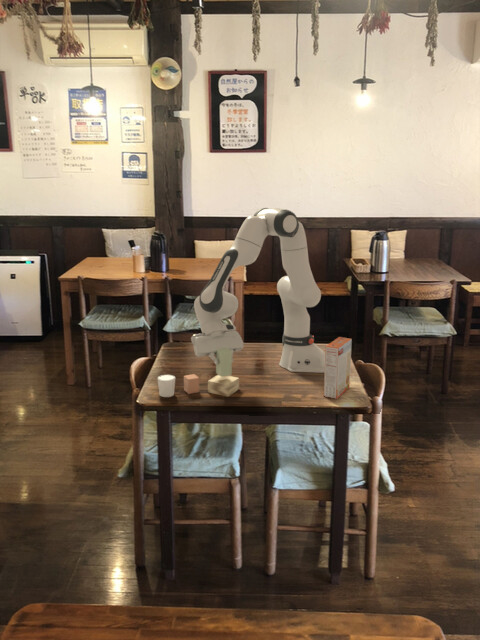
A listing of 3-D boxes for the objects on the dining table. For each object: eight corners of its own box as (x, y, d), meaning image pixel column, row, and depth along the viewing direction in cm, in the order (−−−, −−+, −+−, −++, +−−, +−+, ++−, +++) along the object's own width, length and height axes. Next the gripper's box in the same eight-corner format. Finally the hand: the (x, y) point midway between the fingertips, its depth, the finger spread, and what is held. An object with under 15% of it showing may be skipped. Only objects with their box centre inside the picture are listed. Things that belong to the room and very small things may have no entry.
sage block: (226, 371, 244) (226, 347, 242) (231, 374, 241) (231, 350, 238) (216, 373, 242) (216, 348, 240) (221, 376, 239) (221, 352, 236)
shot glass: (172, 398, 235) (172, 381, 233) (155, 396, 236) (154, 379, 234) (177, 391, 242) (177, 375, 240) (161, 390, 243) (160, 373, 241)
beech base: (238, 389, 245) (239, 377, 244) (228, 397, 238) (228, 385, 236) (219, 385, 249) (219, 373, 248) (207, 392, 242) (207, 380, 240)
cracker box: (335, 385, 250) (338, 336, 245) (349, 388, 247) (353, 338, 242) (322, 396, 239) (324, 345, 233) (336, 399, 236) (339, 347, 230)
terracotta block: (194, 388, 246) (194, 374, 244) (199, 392, 242) (198, 377, 240) (183, 390, 243) (183, 375, 242) (188, 394, 240) (188, 379, 238)
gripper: (191, 331, 238) (202, 362, 232) (238, 324, 247) (250, 355, 242) (187, 339, 243) (197, 370, 237) (233, 332, 252) (244, 362, 247)
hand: (224, 362), depth 240 cm, fingers closed on sage block, 4 cm apart
